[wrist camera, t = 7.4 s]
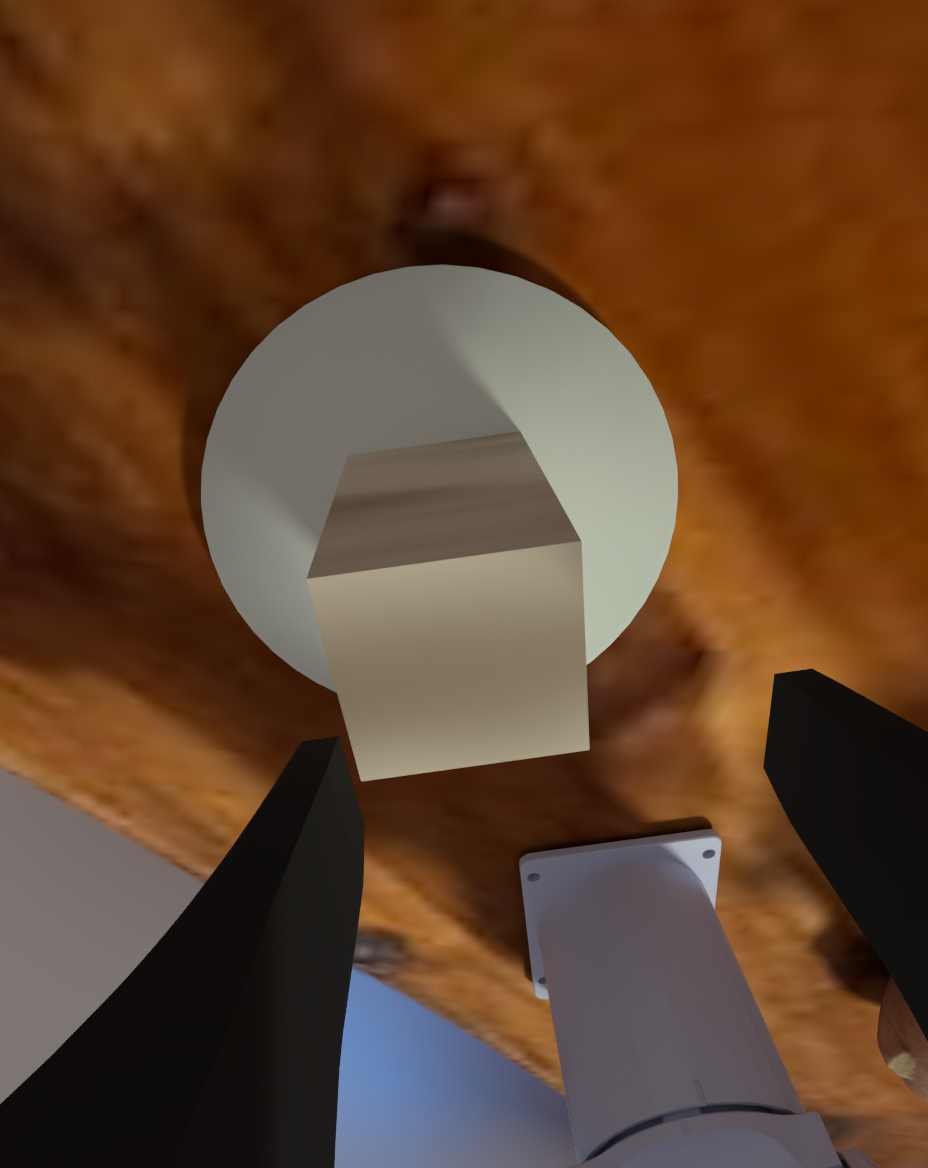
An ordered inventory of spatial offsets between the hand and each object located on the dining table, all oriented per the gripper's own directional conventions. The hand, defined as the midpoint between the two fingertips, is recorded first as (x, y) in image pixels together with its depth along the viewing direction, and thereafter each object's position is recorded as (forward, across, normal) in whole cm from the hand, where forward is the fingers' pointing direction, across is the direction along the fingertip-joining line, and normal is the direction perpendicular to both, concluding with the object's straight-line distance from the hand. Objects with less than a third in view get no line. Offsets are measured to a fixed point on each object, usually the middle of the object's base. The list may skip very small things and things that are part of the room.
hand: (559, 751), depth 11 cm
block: (+8, +2, -1) cm, 8 cm away
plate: (+9, +2, -1) cm, 9 cm away
